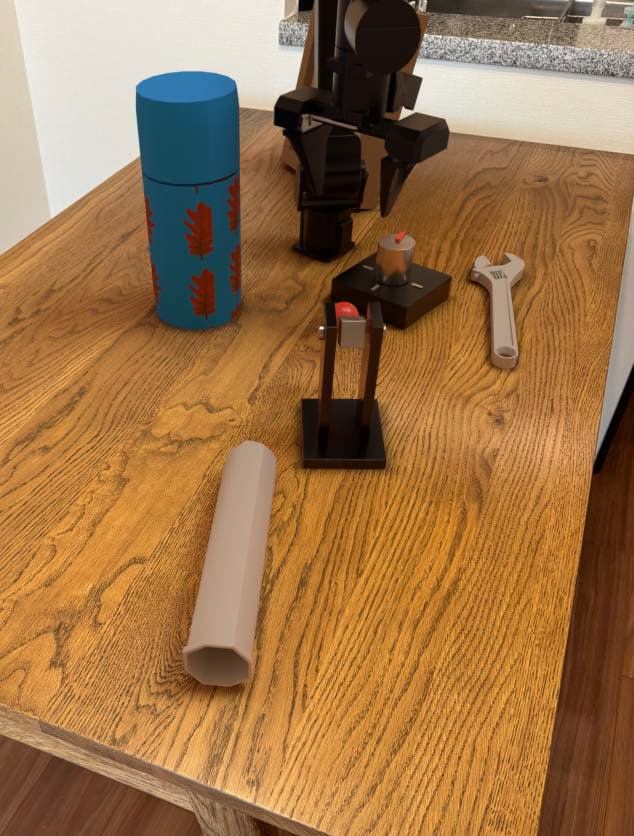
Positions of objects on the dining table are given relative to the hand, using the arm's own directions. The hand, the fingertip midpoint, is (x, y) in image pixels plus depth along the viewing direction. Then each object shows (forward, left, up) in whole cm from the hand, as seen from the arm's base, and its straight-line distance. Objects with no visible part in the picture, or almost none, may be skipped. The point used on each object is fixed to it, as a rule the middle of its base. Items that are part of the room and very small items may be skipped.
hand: (350, 205), depth 87 cm
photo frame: (-23, +34, -13) cm, 43 cm away
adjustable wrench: (+14, +12, -13) cm, 23 cm away
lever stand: (+15, -20, -13) cm, 28 cm away
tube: (+19, -40, -13) cm, 46 cm away
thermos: (-14, -11, -13) cm, 22 cm away
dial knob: (+3, +6, -10) cm, 12 cm away
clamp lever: (+13, -17, -4) cm, 22 cm away
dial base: (+3, +6, -13) cm, 15 cm away
